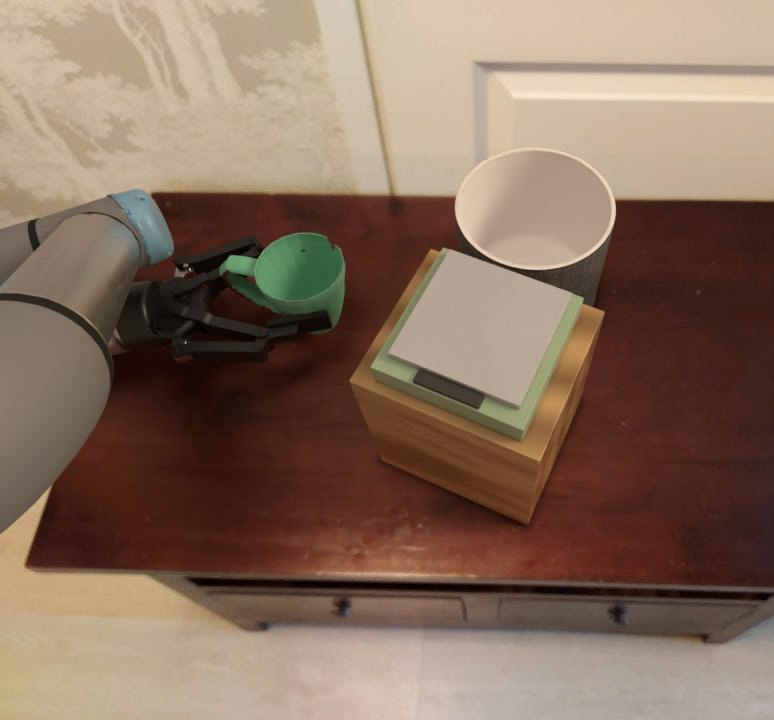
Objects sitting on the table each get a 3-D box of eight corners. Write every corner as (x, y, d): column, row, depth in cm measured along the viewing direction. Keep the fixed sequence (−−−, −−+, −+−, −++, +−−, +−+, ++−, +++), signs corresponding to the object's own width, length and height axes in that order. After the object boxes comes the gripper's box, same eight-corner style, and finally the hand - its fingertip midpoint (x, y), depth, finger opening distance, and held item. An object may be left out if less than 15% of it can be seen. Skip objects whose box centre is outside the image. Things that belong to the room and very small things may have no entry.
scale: (521, 441, 54) (523, 426, 51) (374, 380, 57) (368, 362, 54) (580, 312, 60) (585, 292, 57) (444, 262, 63) (442, 241, 60)
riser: (527, 525, 71) (539, 461, 53) (381, 460, 75) (348, 381, 57) (579, 403, 78) (605, 311, 60) (443, 349, 82) (430, 248, 64)
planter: (587, 232, 90) (605, 144, 76) (604, 343, 82) (627, 266, 68) (458, 236, 90) (453, 149, 76) (461, 348, 82) (455, 273, 68)
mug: (367, 290, 82) (353, 236, 74) (348, 356, 77) (330, 306, 69) (255, 278, 83) (228, 224, 75) (229, 342, 78) (197, 292, 70)
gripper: (145, 264, 82) (325, 234, 84) (135, 419, 71) (341, 381, 73) (114, 223, 75) (311, 192, 77) (99, 388, 65) (326, 347, 67)
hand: (325, 284), depth 75 cm, fingers closed on mug, 9 cm apart
